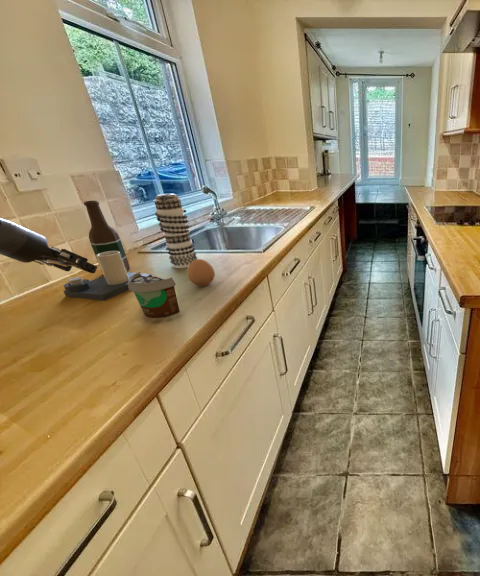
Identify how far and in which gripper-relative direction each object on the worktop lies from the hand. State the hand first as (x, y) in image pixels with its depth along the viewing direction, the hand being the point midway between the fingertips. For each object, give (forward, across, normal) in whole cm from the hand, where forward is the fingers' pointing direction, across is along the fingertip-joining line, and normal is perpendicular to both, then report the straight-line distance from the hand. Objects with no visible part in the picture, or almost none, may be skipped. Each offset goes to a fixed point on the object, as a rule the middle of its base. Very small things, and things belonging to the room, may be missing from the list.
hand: (82, 269), depth 88 cm
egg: (+16, -25, -3) cm, 30 cm away
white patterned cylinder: (+27, -4, -15) cm, 31 cm away
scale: (+11, +2, +1) cm, 11 cm away
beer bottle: (+20, +14, -7) cm, 25 cm away
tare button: (+5, +6, +3) cm, 9 cm away
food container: (+3, -26, +10) cm, 28 cm away
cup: (+10, 0, -1) cm, 10 cm away
